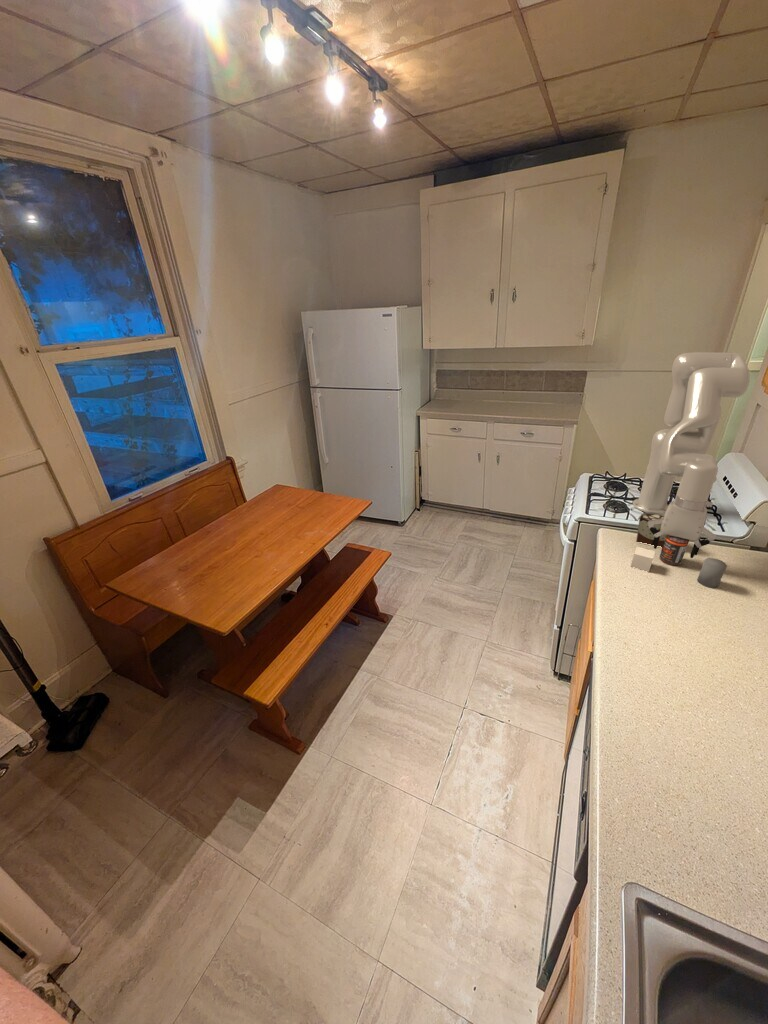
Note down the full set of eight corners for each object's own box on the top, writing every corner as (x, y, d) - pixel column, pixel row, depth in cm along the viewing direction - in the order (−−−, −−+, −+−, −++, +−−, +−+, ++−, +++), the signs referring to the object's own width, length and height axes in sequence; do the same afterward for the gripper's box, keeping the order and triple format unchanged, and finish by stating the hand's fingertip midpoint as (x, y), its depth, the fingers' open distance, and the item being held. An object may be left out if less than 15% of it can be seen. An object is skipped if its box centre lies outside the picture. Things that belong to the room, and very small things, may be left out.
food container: (673, 542, 138) (682, 516, 134) (673, 550, 134) (682, 524, 129) (632, 533, 144) (639, 508, 140) (631, 541, 140) (638, 515, 135)
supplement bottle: (654, 558, 130) (664, 528, 125) (666, 553, 132) (676, 523, 127) (673, 568, 125) (684, 536, 120) (685, 562, 127) (696, 531, 122)
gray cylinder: (697, 575, 122) (705, 556, 118) (718, 581, 119) (726, 561, 116) (696, 584, 118) (704, 564, 115) (718, 590, 115) (726, 570, 112)
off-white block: (632, 559, 130) (636, 546, 128) (650, 564, 127) (655, 551, 125) (630, 567, 127) (634, 553, 124) (648, 572, 124) (653, 558, 122)
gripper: (726, 504, 117) (707, 554, 125) (657, 491, 127) (643, 538, 134) (726, 514, 112) (706, 565, 120) (654, 500, 121) (639, 548, 129)
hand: (673, 551), depth 127 cm, fingers open, 9 cm apart
